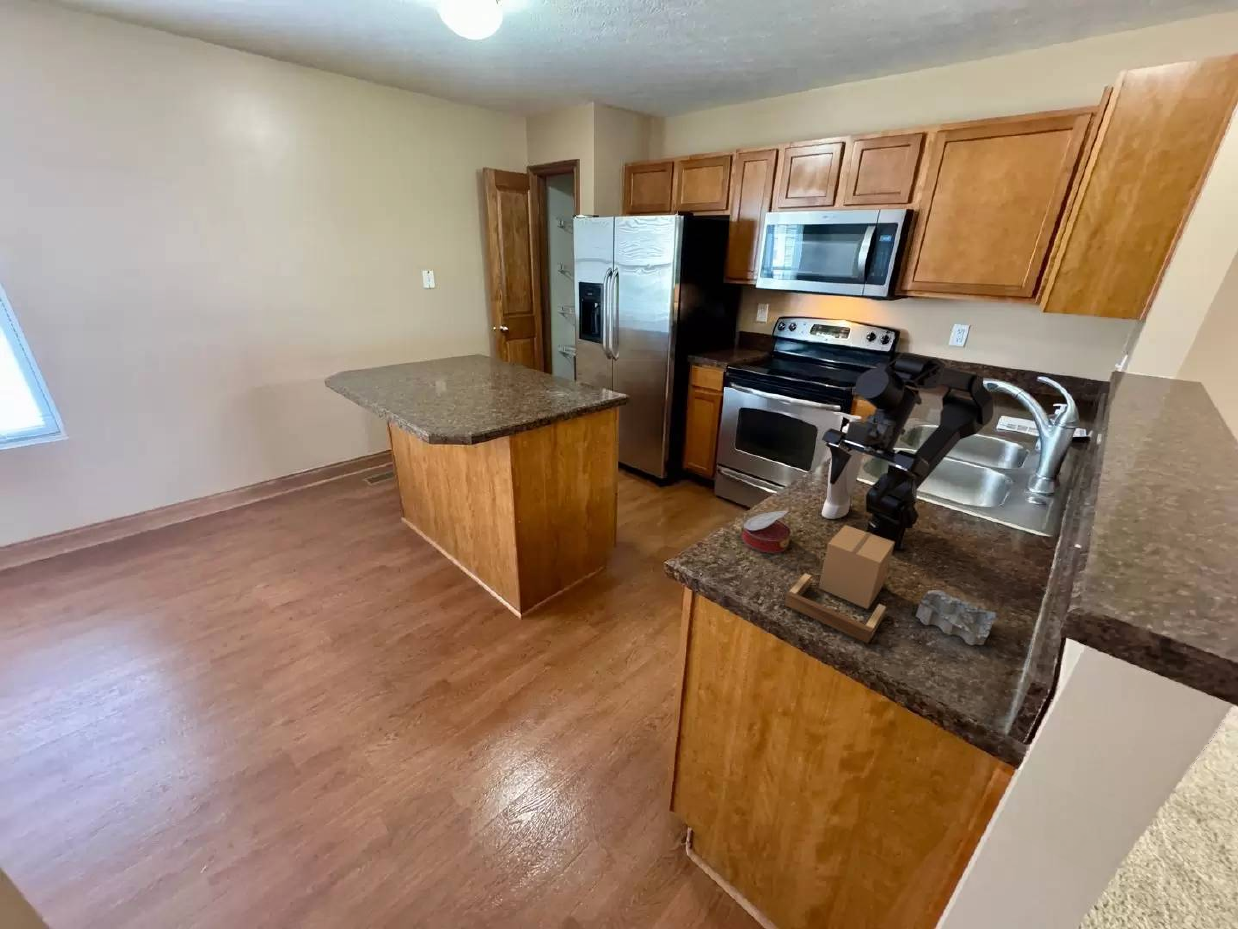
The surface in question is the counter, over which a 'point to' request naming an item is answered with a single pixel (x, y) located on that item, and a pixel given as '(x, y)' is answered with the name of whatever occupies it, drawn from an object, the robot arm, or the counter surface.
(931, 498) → the counter surface
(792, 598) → the bay
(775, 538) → the canned food
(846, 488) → the soap bottle
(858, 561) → the cardboard box
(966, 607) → the egg carton
